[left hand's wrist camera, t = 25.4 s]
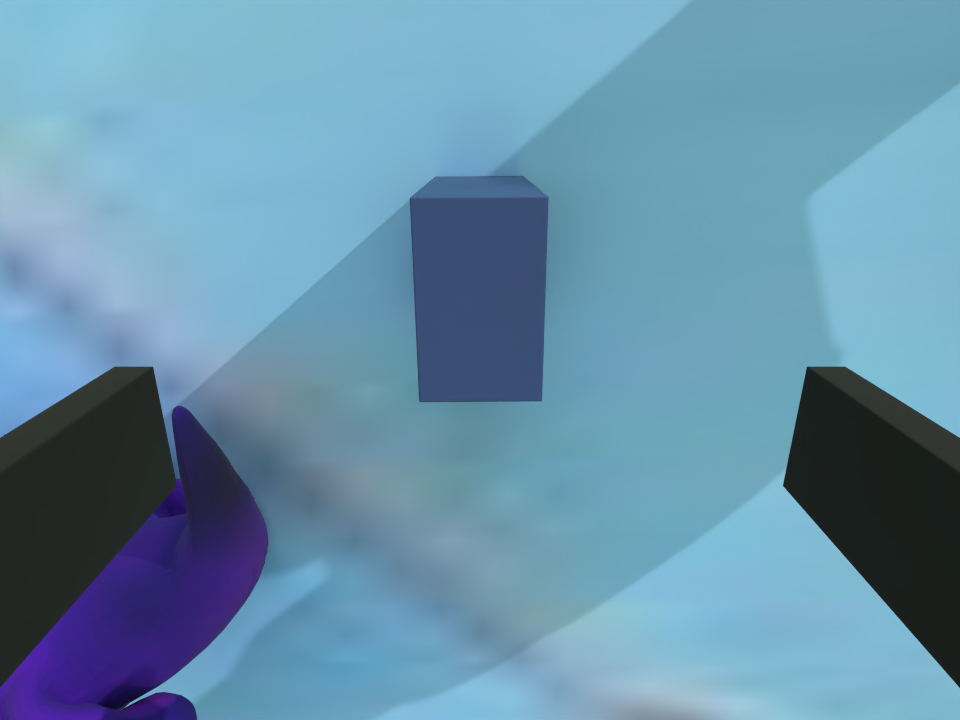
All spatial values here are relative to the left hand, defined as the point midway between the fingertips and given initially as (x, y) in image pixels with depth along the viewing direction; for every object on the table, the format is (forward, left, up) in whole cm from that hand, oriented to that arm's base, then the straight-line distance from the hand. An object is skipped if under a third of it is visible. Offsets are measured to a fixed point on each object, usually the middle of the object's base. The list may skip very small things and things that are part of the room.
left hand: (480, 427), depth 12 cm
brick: (0, 0, -22) cm, 22 cm away
